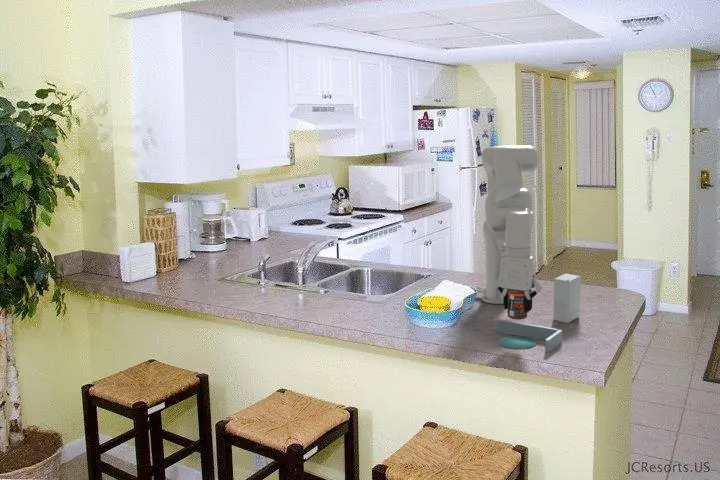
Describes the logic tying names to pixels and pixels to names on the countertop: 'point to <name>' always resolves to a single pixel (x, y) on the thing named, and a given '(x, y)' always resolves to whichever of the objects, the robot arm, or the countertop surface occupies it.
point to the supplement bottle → (516, 304)
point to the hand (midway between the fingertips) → (517, 309)
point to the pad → (517, 342)
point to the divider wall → (532, 332)
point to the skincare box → (566, 297)
